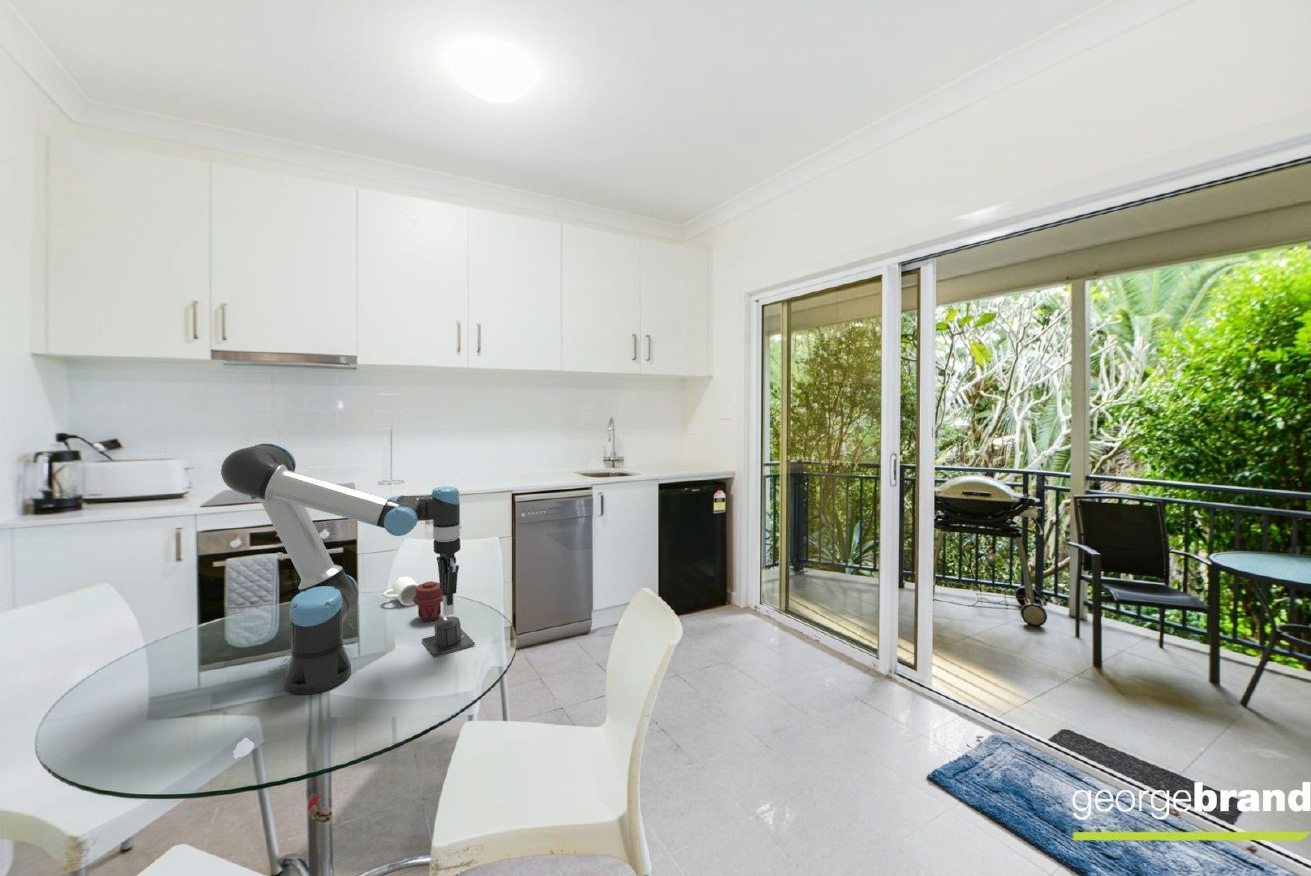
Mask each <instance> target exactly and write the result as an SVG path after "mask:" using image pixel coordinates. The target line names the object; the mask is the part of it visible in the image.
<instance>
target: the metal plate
mask: <svg viewBox="0 0 1311 876" xmlns="http://www.w3.org/2000/svg"><path fill="white" fill-rule="evenodd" d="M421 643H422V644H423V645H424V647H426V649H427V650H428V651H429V653H430V654H431V656H432V657H433V658H436V657H441V656H443V655H447V654H451V653H454V652H458V651H462V650H466V649H468V648H471V646H472V647H474V646H473V645H475V646H476V643H475V641H474V640H473V639H472V638H471V637H470V636H469V635H468V634H467V633H466V632H465V631H464V630H463V629H462V628H461V639H460V641H459V642H458V643H456V644H453V645H449V646H439V645H437V644H436V643H435V635H431V636H428V637H423V638H421Z"/></svg>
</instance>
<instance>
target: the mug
mask: <svg viewBox="0 0 1311 876" xmlns="http://www.w3.org/2000/svg"><path fill="white" fill-rule="evenodd" d="M418 585H419V584H418V583H417V582H416V581H415V580H414V579H413V578H412V577H410V576H401V577H399V578H397V579H396V580H395V581H394V582H393V584H392V587H391V588H390V589H387V590H385V591H384V592H383V593H382V597H383V598H384V599H387V600H388V599H389V600H398V601H399V602H400V604H401V605H403V606H405V607H411V606H412V607H413V606H415V605H416V604H415V603H414V602H413V597H414V596H415V595H416V587H417V586H418Z"/></svg>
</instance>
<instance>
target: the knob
mask: <svg viewBox="0 0 1311 876" xmlns="http://www.w3.org/2000/svg"><path fill="white" fill-rule="evenodd" d="M461 626H462V625H461V621H460V618H459V617H457V616H444V617H442V618H439V619H438V620H435V623H434V636H435V643H436V644H437V645H439V646H449V645H453V644H456V643H458V642H459V641H460V639H461V629H462V628H461Z"/></svg>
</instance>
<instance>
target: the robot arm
mask: <svg viewBox="0 0 1311 876" xmlns="http://www.w3.org/2000/svg"><path fill="white" fill-rule="evenodd" d="M296 467H297V465H296V459H295V457H294V455H293V453H292V452H291V451H290V450H289V449H288V448H286V447H285V446H282V445H280V444H278V443H277V444H276V443H260V444H255V445H252V446H249V447H244V448H241V449H237V450H235V451H233V452H231V453H230V454H228V455H227V456H226V458H224V460H223V462H222V464H221V469H220V475H221V478H222V480H223V482H224V483H225V485H226V486H227V487H228V488H230V489H231V490H232V491H235V492H237V493H239V494H242V495H245V496H249V497H250V498H251V500H252V501H254V502H257V503H260V504H262V507H263V509H264V510H265V512H266V514H267V516H268V518H269V520H270V522H271V524H272V525H273V527H274V530H275V531H276V534H277V535H278V537H279V539H280V542H281V543H282V545H283V546H284V548H285V550H286V552H287V554H288V555H287V556H289V558H290V560H291V562H292V564H293V566H294V568H295V570H296V572H297V573H298V575H299V578H300V583H299V585H298V590H299V593H298V594H296V595H295V596H294V597H293V598H292V599H291V601H290V605H289V610H288V612H289V613H288V617H289V630H290V632H289V633H290V649H291V650H290V651H291V657H290V660H289V663H288V665H287V670H286V673H285V675H284V680H283V681H284V682H283V683H284V690H285V691H286V692H288V693H290V694H293V695H312V694H316V693H321V692H325V691H327V690H331V689H333V688H336V687H338V686H340V685H341V684H343V683H344V682H346V681H347V680H348V679H349V678H350V676H351V675H352V664H351V660H350V659H349V656H348V654H347V652H346V649H345V648H344V639H343V637H344V635H343V633H344V632H343V629H344V628H343V625H344V624H343V623H344V621H345V620H346V618H347V616H348V615H349V613H350V612H351V611H352V610H353V609H354V608H355V606H356V604H357V601H358V599H359V598H358V597H359V593H360V592H359V591H360V590H359V585H358V583H357V581H356V580H355V578H354V577H352V576H350V575H348V574H346V572H345V570H344V568H343V567H342V566H341V565H338V564H334V563H335V562H333V560H332V557H331V556H330V553H329V552H328V550H327V548H326V546H325V544H324V542H323V540H322V538H321V535H320V534H319V532H318V530H317V528H316V526H315V524H314V522H313V520H312V517H311V516H310V514H309V512H308V510H307V508H309V509H313V510H317V511H321V512H323V513H328V514H331V515H335V516H339V517H342V518H345V519H350V520H354V521H356V522H359V523H360V522H361V523H365V524H368V525H371V526H376V527H379V528H382V529H385V531H386V532H387V533H388V534H390V535H392V536H396V537H403V536H406V535H407V534H409V533H410V532H411V531H412V530H414V529H415V527H416V526H417V524H418V522H422V521H432V522H433V523H432V537H433V539H434V540H433V552H434V553H435V554H437V555H439V556H436V561H437V562H436V563H437V568H438V569H437V571H438V578H439V580H438V581H439V583H440V589H442V595H443V601H442V615H443V616H444V617H448V616H451V615H455V610H454V606H455V605H454V600H455V599H454V595H455V594H457V588H458V587H457V586H458V572H459V568H460V566H459V564H456V563H457V558H456V555H455V554H456V553H457V552H459V551H461V538H460V536H461V529H462V525H461V520H460V519H461V515H460V514H461V513H460V512H461V510H460V506H461V502H460V493H459V489H458V488H457V487H453V486H438V487H435V488H433V489H432V491H431V494H426V495H425V494H423V495H421V494H420V495H399V496H398V495H397V496H391V497H389V499H387V498H384V497H381V496H378V495H373V494H371V493H368V492H367V493H366V492H364V491H361V490H357V489H353V488H351V487H350V488H349V487H348V486H347V487H346V486H343V485H340V484H336V483H333V482H331V481H325V480H323V479H320V478H316V477H313V476H310V475H307V474H302V473H299V472H296Z"/></svg>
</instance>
